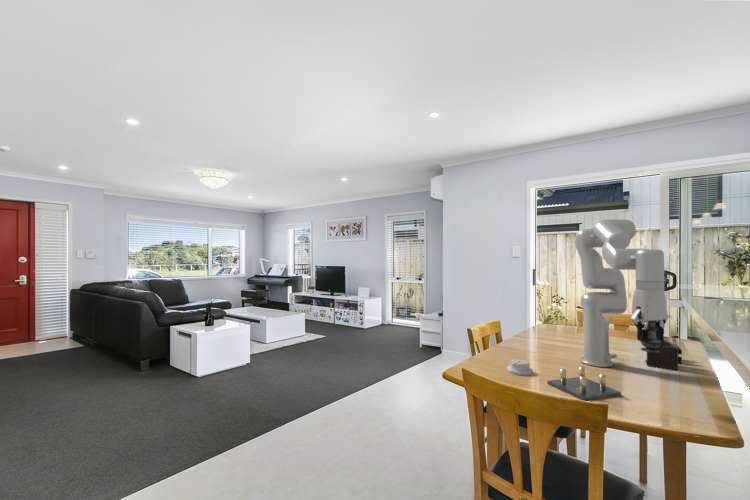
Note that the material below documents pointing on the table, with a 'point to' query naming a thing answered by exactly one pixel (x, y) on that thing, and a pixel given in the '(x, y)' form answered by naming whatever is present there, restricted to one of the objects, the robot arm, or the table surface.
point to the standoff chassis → (583, 386)
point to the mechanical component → (519, 367)
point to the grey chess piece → (651, 339)
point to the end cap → (679, 357)
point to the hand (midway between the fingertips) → (650, 339)
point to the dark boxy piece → (664, 356)
